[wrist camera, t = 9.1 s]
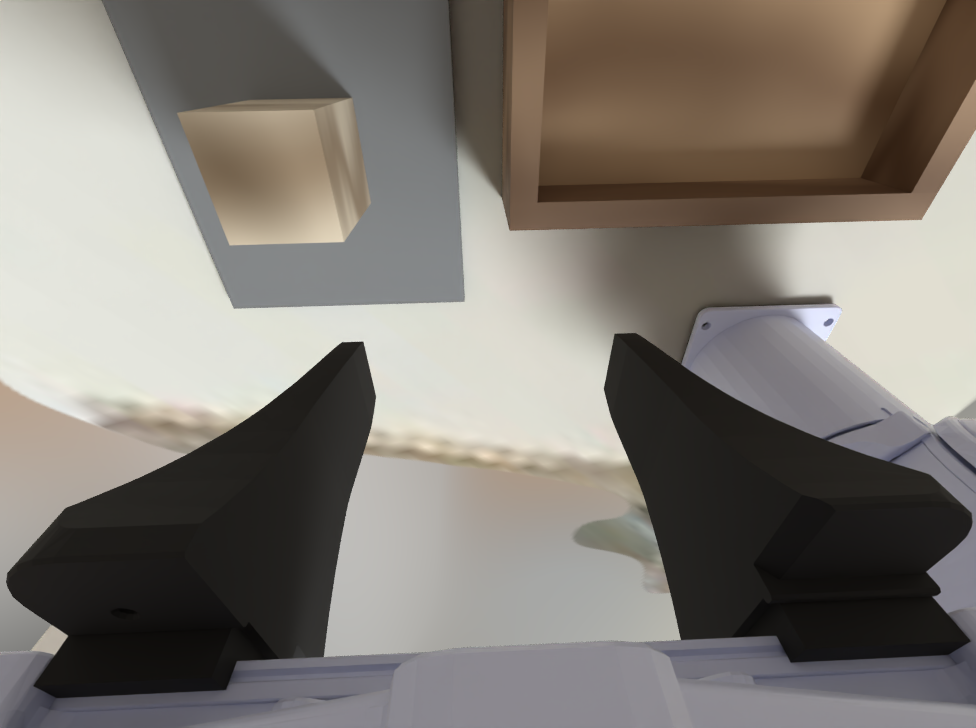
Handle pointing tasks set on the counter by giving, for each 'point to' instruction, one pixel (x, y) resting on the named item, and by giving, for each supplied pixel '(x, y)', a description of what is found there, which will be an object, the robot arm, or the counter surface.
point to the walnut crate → (732, 110)
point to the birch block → (281, 168)
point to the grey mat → (308, 75)
